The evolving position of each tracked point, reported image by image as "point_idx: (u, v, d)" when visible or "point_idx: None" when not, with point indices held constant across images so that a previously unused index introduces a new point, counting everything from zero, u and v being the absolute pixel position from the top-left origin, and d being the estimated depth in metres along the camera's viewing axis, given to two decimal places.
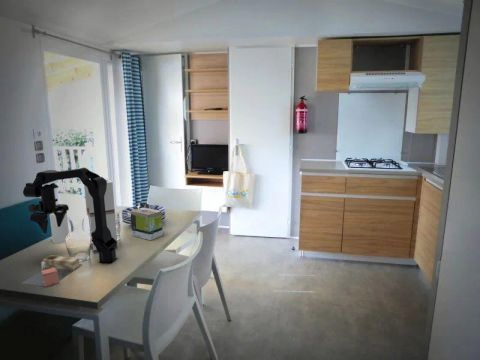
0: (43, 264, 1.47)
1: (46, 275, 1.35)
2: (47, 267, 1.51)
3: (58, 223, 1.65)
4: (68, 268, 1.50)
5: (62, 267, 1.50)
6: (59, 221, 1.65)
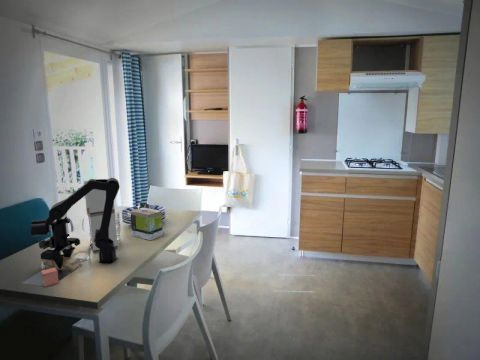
0: (43, 264, 1.47)
1: (46, 275, 1.35)
2: (47, 267, 1.51)
3: None
4: (68, 268, 1.50)
5: (62, 267, 1.50)
6: None
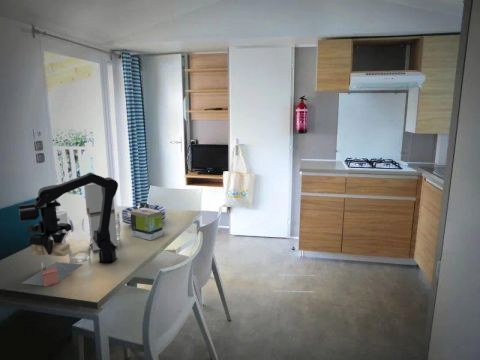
0: (43, 264, 1.47)
1: (46, 275, 1.35)
2: (36, 253, 1.44)
3: None
4: (58, 254, 1.43)
5: (52, 253, 1.43)
6: None
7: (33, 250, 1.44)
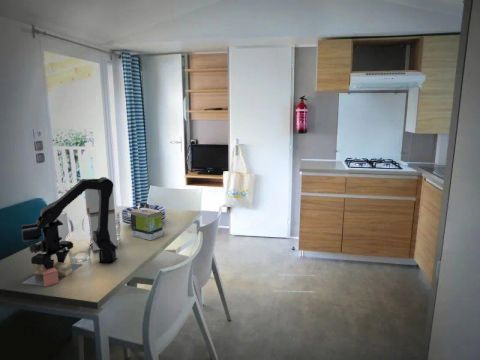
0: None
1: (46, 275, 1.35)
2: (39, 273, 1.46)
3: None
4: (60, 274, 1.45)
5: None
6: None
7: (35, 270, 1.46)
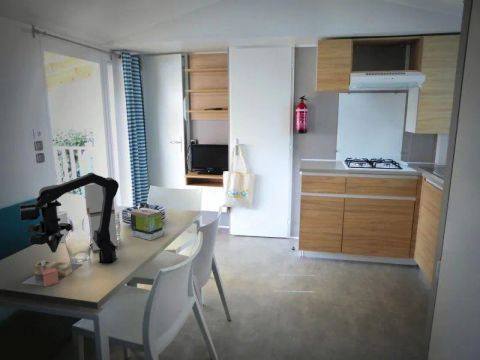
0: (43, 264, 1.47)
1: (46, 275, 1.35)
2: (39, 273, 1.46)
3: None
4: (60, 274, 1.45)
5: None
6: None
7: (35, 270, 1.46)
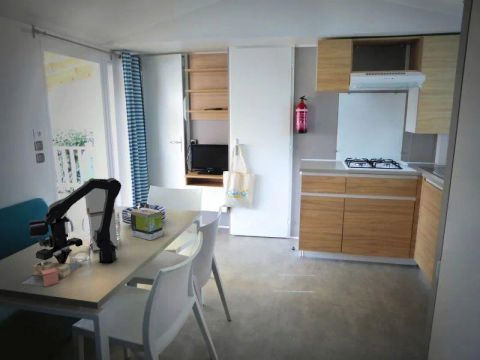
0: (43, 264, 1.47)
1: (46, 275, 1.35)
2: (37, 274, 1.45)
3: None
4: (58, 275, 1.43)
5: None
6: None
7: (34, 270, 1.45)
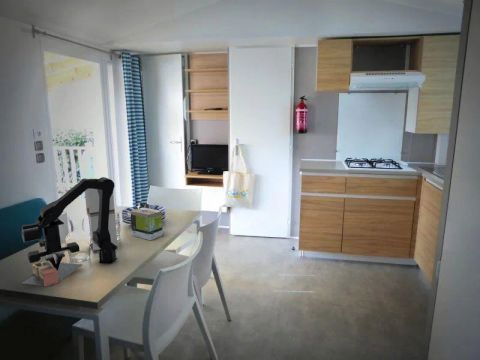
0: (43, 264, 1.47)
1: (46, 275, 1.35)
2: (34, 273, 1.46)
3: None
4: None
5: (42, 277, 1.41)
6: (56, 265, 1.44)
7: (33, 269, 1.46)
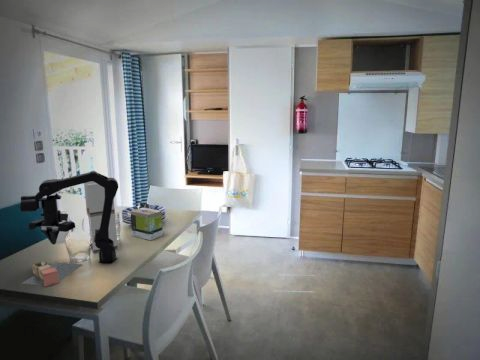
0: (43, 264, 1.47)
1: (46, 275, 1.35)
2: (34, 273, 1.46)
3: None
4: None
5: (42, 277, 1.41)
6: None
7: (33, 269, 1.46)
